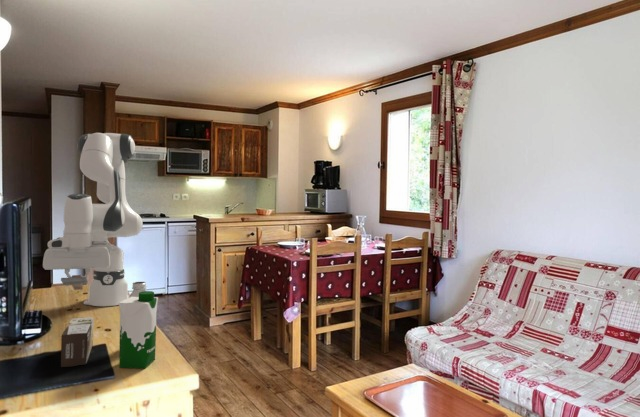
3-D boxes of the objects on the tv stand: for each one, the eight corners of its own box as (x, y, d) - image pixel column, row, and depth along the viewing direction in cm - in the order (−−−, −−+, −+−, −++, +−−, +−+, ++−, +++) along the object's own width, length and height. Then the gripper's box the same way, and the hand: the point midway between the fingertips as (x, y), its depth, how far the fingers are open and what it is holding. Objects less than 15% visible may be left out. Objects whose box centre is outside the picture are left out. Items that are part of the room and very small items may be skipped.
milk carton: (146, 370, 121) (148, 296, 121) (113, 369, 121) (115, 295, 121) (159, 358, 130) (161, 289, 129) (128, 357, 130) (129, 288, 130)
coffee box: (70, 318, 136) (60, 333, 121) (94, 316, 138) (87, 331, 123) (70, 348, 136) (60, 367, 121) (93, 346, 138) (86, 365, 123)
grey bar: (67, 290, 156) (67, 281, 157) (89, 289, 159) (90, 280, 160) (60, 280, 142) (61, 271, 143) (85, 279, 144) (86, 270, 145)
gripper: (112, 240, 160) (111, 278, 161) (45, 240, 153) (44, 281, 153) (111, 242, 155) (110, 282, 155) (42, 242, 147) (41, 284, 147)
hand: (77, 281), depth 154 cm, fingers closed on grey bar, 2 cm apart
